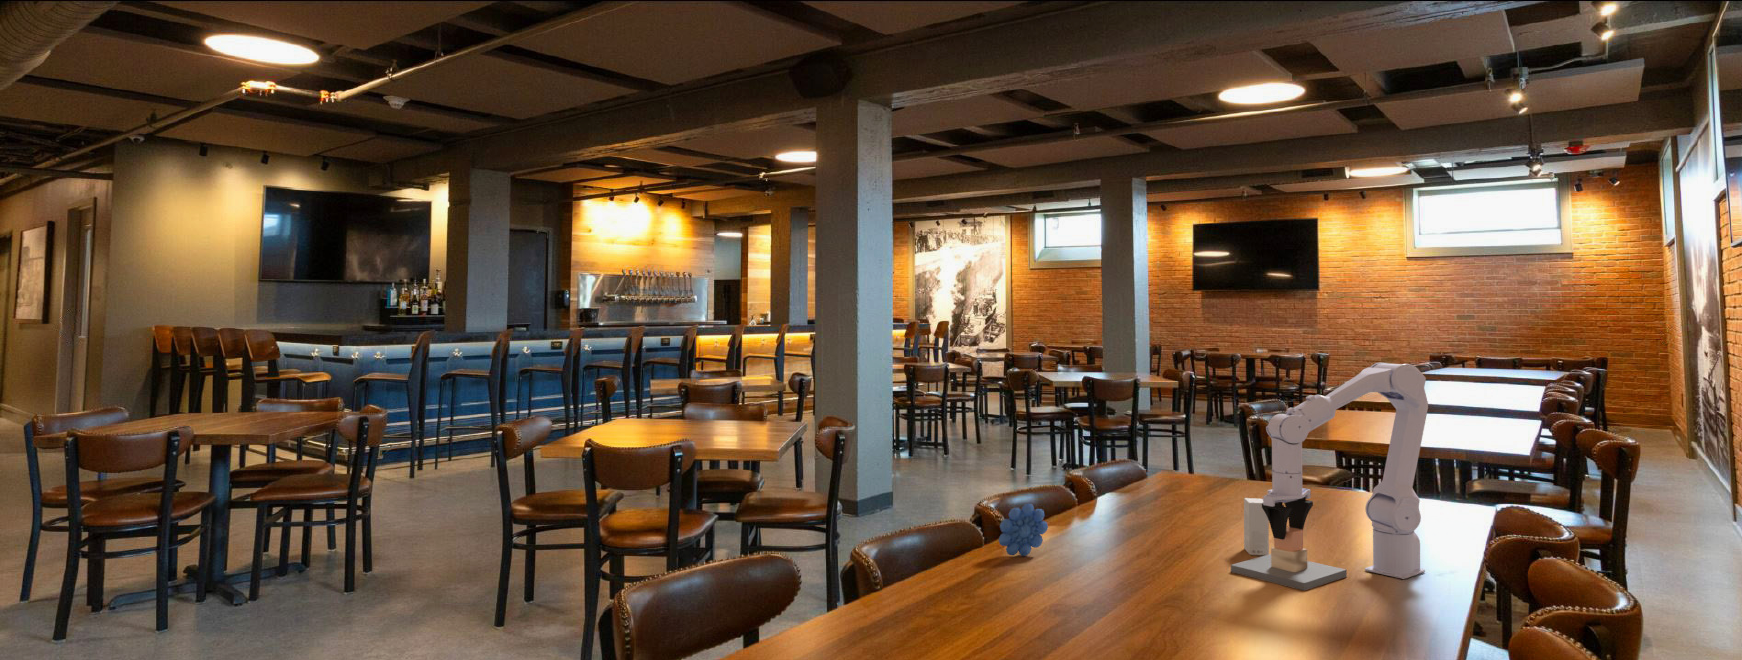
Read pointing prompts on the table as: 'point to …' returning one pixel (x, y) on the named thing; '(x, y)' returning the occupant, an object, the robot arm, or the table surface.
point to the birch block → (1289, 559)
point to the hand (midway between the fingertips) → (1287, 536)
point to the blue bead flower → (1023, 530)
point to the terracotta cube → (1290, 540)
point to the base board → (1289, 573)
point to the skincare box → (1255, 527)
